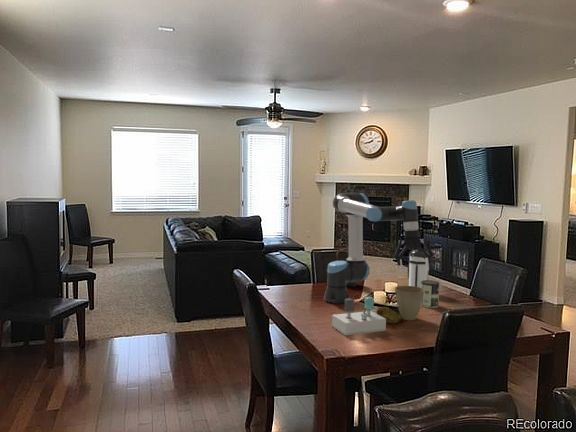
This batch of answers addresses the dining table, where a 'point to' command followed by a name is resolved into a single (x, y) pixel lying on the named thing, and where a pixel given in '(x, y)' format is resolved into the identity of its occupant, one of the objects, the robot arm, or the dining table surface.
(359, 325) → the panel
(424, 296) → the coffee can
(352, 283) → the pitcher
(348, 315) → the knob charcoal
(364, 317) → the trim pot
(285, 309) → the dining table surface
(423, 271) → the coffee press
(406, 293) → the plant pot
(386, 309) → the potato
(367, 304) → the knob teal
